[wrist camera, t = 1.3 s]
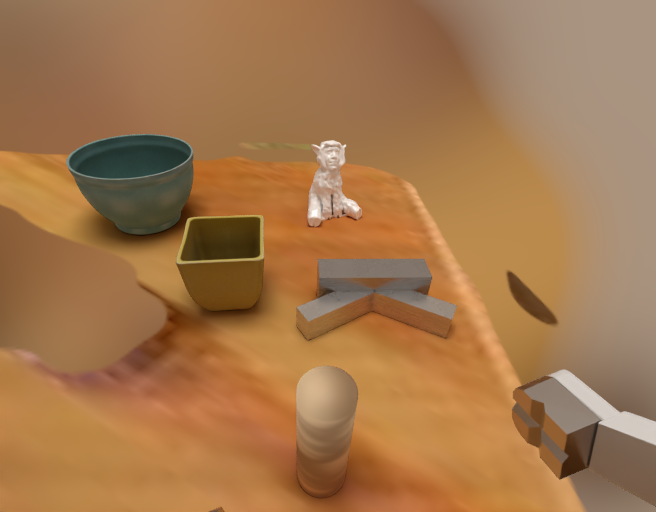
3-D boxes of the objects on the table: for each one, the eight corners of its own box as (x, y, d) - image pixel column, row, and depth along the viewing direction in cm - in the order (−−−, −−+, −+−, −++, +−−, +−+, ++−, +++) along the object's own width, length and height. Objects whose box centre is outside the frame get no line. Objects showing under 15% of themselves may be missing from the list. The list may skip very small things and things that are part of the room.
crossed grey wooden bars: (296, 340, 43) (296, 308, 40) (296, 290, 49) (296, 259, 46) (456, 338, 44) (468, 306, 41) (435, 289, 51) (444, 258, 48)
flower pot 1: (207, 193, 69) (198, 132, 62) (197, 246, 56) (184, 177, 49) (109, 196, 66) (89, 133, 60) (76, 252, 53) (45, 180, 47)
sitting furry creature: (309, 229, 61) (311, 156, 54) (291, 204, 67) (291, 135, 60) (363, 219, 64) (371, 149, 57) (341, 196, 70) (346, 130, 63)
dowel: (296, 499, 30) (296, 421, 23) (296, 447, 33) (296, 366, 27) (348, 496, 30) (362, 418, 24) (343, 445, 33) (354, 365, 27)
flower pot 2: (268, 320, 45) (264, 258, 39) (189, 326, 44) (174, 262, 38) (267, 272, 52) (263, 214, 46) (199, 276, 51) (187, 216, 45)
